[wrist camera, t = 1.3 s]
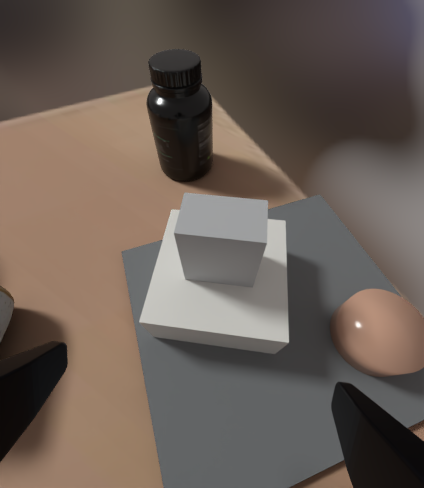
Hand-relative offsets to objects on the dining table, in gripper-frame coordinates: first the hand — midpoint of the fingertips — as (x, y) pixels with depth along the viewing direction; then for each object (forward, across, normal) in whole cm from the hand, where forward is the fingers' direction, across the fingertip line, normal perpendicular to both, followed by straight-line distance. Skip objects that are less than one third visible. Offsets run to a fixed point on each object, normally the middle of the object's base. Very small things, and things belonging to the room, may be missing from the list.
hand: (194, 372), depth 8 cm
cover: (+14, 0, +3) cm, 15 cm away
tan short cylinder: (+13, -13, +5) cm, 18 cm away
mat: (+14, -5, +4) cm, 15 cm away
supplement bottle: (+27, +6, -9) cm, 29 cm away
